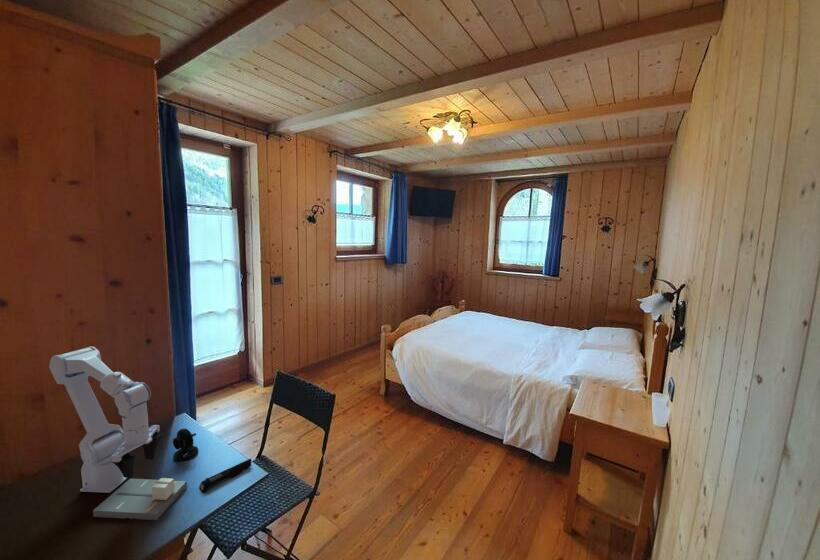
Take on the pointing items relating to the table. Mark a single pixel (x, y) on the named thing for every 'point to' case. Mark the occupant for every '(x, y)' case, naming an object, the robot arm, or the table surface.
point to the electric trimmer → (224, 475)
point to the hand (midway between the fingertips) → (139, 467)
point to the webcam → (184, 445)
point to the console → (137, 501)
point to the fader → (163, 488)
